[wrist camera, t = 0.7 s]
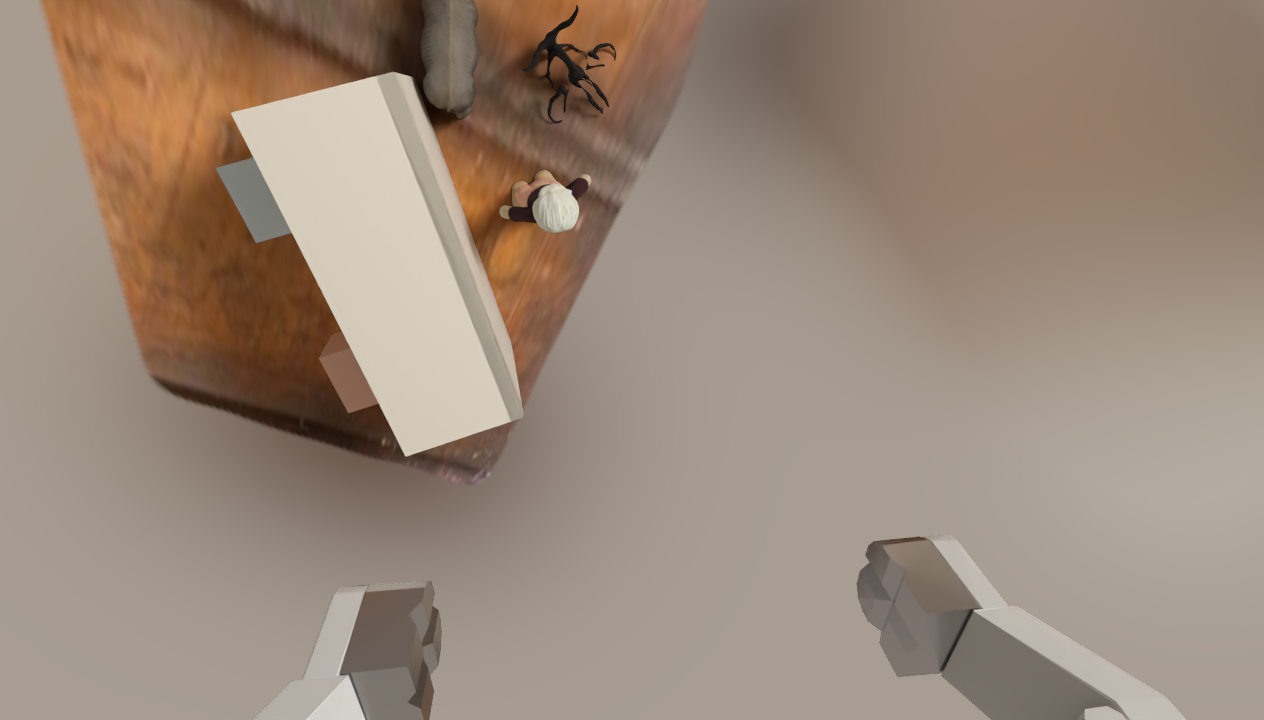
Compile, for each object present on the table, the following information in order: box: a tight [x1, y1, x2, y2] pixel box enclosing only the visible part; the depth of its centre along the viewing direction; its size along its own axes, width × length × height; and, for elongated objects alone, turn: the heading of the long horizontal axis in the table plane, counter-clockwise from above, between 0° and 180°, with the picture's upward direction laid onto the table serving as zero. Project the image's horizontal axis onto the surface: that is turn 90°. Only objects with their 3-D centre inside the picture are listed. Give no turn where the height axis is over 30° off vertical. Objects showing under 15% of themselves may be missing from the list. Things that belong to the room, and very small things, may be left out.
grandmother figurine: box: [499, 170, 591, 233], centre depth 47 cm, size 8×4×13 cm, turn 121°
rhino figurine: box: [420, 0, 479, 119], centre depth 43 cm, size 4×14×6 cm, turn 173°
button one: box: [216, 157, 292, 243], centre depth 41 cm, size 5×8×5 cm, turn 103°
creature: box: [522, 5, 616, 123], centre depth 47 cm, size 8×5×8 cm
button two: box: [319, 331, 379, 413], centre depth 48 cm, size 5×8×5 cm, turn 103°
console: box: [231, 72, 524, 456], centre depth 45 cm, size 24×10×15 cm, turn 13°
